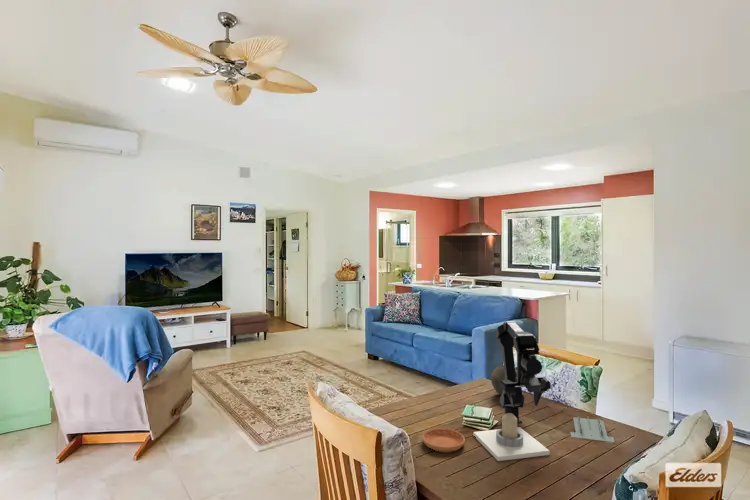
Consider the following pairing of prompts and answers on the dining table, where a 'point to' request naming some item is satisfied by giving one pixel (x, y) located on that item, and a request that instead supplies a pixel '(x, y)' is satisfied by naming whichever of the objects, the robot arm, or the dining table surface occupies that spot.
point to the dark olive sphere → (498, 378)
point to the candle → (509, 426)
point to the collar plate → (511, 451)
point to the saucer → (443, 440)
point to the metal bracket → (590, 430)
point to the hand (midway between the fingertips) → (524, 406)
